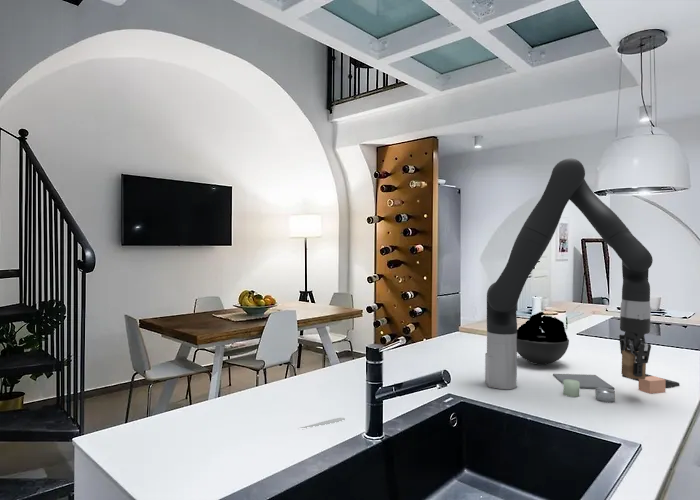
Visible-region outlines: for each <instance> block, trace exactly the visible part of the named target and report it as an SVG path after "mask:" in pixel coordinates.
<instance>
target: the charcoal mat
mask: <svg viewBox="0 0 700 500" xmlns="http://www.w3.org/2000/svg"><path fill="white" fill-rule="evenodd" d="M552 376H553V377H554V378H555V379H556V380H557V381H559V382H560V383H561V384H562V385H563V380H566V379H571V380H576V381H579V382H580V389H579V390H581V389H582V390H595V389H596V388H599V387H602V388H609V389H612V390H614V391H615V387H614V386H613V385H612V384H610V383H608V382H607V381H605V380H604V379H602V378H601V377H599V376H597V375H596V374H582V373H581V374H580V373H579V374H578V373H577V374H576V373H552Z"/></svg>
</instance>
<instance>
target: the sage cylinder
mask: <svg viewBox="0 0 700 500" xmlns="http://www.w3.org/2000/svg"><path fill="white" fill-rule="evenodd" d="M562 386H563V389H562V390H563V392H562V393H563V396H566V397H570V398H578V397H580V390H581V389H580V382H579V381H576V380H571V379H566V380H563V384H562Z"/></svg>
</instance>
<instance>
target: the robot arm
mask: <svg viewBox="0 0 700 500" xmlns="http://www.w3.org/2000/svg"><path fill="white" fill-rule="evenodd" d="M585 176H586V169H585V167H584V165H583V164H582V162H581V161H580V160H578V159H576V158H565V159H562V160H560V161H559V162H558V163H556V164H555V165H554V167H553V168H552V171H551V174H550V178H549V180H548V182H547V184H546V187H545V189H544V190H543V194H542V196H541V198H540V199H539V200H538V202H537V203H536V205H535V206H534V208H533V209H532V211H531V212H530V214H529V215H528V217H527V218H526V220H525V222H523V225H522V227H521V229H520V231H519V232H518V234H517V236H516V239H515V240H514V243H513V246H512V248H511V252H510V253H509V258H508V259H507V262H506V265H505V267H504V269H503V270H502V272H501V273H500V275H499V277H498V278H497V279H496V281H494V282H493V283H492V284H491V285H490V286H489V287H488V289H487V291H486V352H485V353H484V354H485V356H484V357H485V359H484V360H485V361H484V365H485V366H484V367H485V368H484V374H485V375H484V382H485V384H486V385H487V387H488V388H494V389H500V390H514V389H516V388H517V385H518V384H517V383H518V379H517V377H518V352H517V329H518V320H517V319H518V318H517V304H518V302H519V299H520V297H521V294H522V292H523V289H524V287H525V284H526V282H527V280H528V278H529V276H530V274H531V273H532V271H534V269H535V267H536V266H537V264H538V263H539V261H540V260H541V257H542V256H543V254H544V253H545V251H546V249H547V247H548V246H549V244H550V243H551V241H552V239H553V236H554V234H555V233H556V230H557V227H558V225H559V223H560V220H561V218H562V215H563V212H564V210H565V208H566V206H567V204H568V203H569V201H570V202H571V203H572V204H573V205H574V206H575V207H576V208H577V209H578V210H579V211H580V212H581V214H583V216H584V217H585V218H586V219H587V221H588V222H589V224H590V225H591V226H592V227H593V228H594V230H595V231H596V232H597V234H598V235H599V236H600V237H601V238H602V239H603V240H604V242H605V243H606V244H607V246H609V247H610V248H612V249H613V251H614V252H615V253H616V255H617V256H618V257H619V259H620V260H621V271H622V272H621V273H622V286H621V287H622V288H621V301H620V311H619V312H620V316H619V317H620V318H619V330H620V331H622V332H624V334H619V335H618V338H619V346H620V347H619V348H620V349H619V350H620V354H621V355H622V351H631V354H632V355H633V360H634V366H633V375H634V376H637V377H641V376H642V372H643V364H644V363H646V364H648V363H649V358H650V353H651V349H652V344H651V343H647V342H646V337H645V335H646V334H649V333H651V315H652V314H651V313H652V312H651V311H652V308H651V285H650V283H649V270H650V268H651V267H652V265H653V261H654V260H653V256H652V253H651V252H650V251H649V250H648V249H647V247H646V246H644V244H643V243H641V241H640V240H639V239H638V238H637V237H636V236H634V235H633V233H632V231H630V229H629V228H628V227H627V225H626V224H625V223H624V222H623V221H622V219H621V218H620V217H619V215H618V214H616V213H615V212H614V211H613V210H612V209H611V208H610V207H609V206H608V205H607V204H605V203H604V202H603V201H602V200H601V199H600V198H599V197H598V196H597V195H596V194H595V192H593V190H592V189H591V188H590V186H589V185H588V183H587V181H586V179H585ZM635 351H638V352H635ZM637 355H638V356H637ZM644 356H645V358H644Z"/></svg>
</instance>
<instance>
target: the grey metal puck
mask: <svg viewBox="0 0 700 500" xmlns="http://www.w3.org/2000/svg"><path fill="white" fill-rule="evenodd" d="M594 391H595V394H594V395H595V397H594V398H595V400H596V401H598V402H600V403H604V404H605V403H606V404H613V403H615V402H616V391H615V389H614V390H612V389H609V388H602V387H599V388H596V389H594Z"/></svg>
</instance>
